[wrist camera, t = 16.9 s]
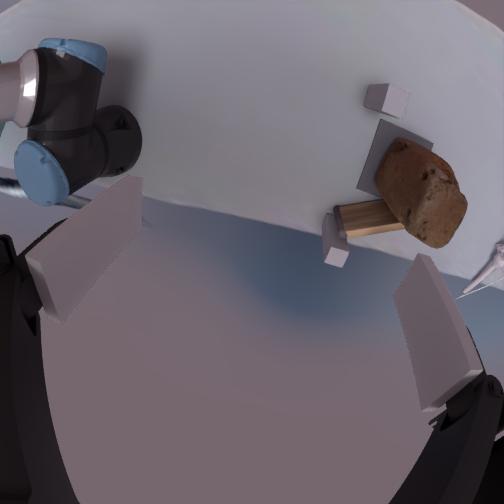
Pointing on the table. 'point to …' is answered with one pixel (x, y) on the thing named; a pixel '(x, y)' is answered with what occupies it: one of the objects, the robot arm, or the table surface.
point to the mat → (384, 152)
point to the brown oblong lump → (421, 192)
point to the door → (365, 219)
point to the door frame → (383, 101)
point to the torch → (488, 270)
